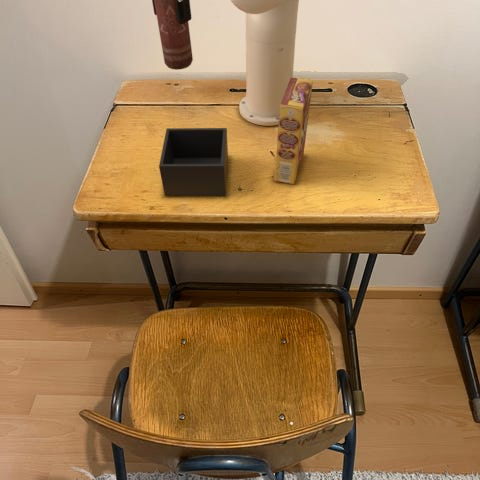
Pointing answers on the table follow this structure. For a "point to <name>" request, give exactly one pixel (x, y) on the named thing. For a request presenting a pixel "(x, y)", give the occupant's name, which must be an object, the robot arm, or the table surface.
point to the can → (173, 36)
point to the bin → (194, 162)
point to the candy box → (292, 129)
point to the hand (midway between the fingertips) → (172, 16)
